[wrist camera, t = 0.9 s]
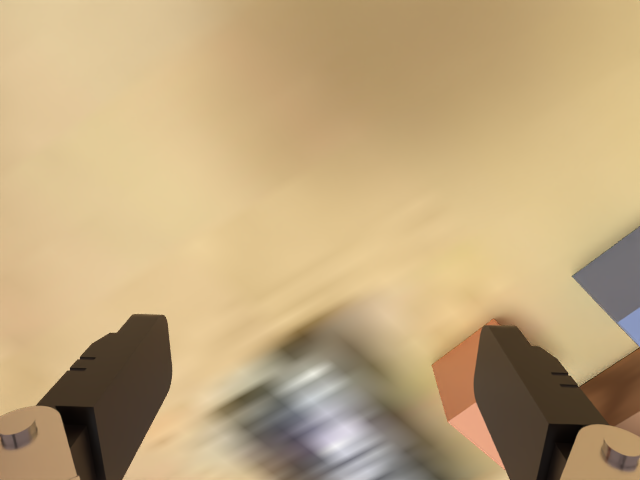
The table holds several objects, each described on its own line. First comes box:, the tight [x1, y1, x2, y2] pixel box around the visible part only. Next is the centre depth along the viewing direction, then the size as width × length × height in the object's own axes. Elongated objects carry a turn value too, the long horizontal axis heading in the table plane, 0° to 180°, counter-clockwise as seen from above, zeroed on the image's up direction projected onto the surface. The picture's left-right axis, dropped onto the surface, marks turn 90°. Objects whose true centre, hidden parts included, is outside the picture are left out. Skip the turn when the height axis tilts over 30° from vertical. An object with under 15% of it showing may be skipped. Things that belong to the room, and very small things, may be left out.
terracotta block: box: [432, 319, 505, 470], centre depth 30 cm, size 6×6×6 cm
